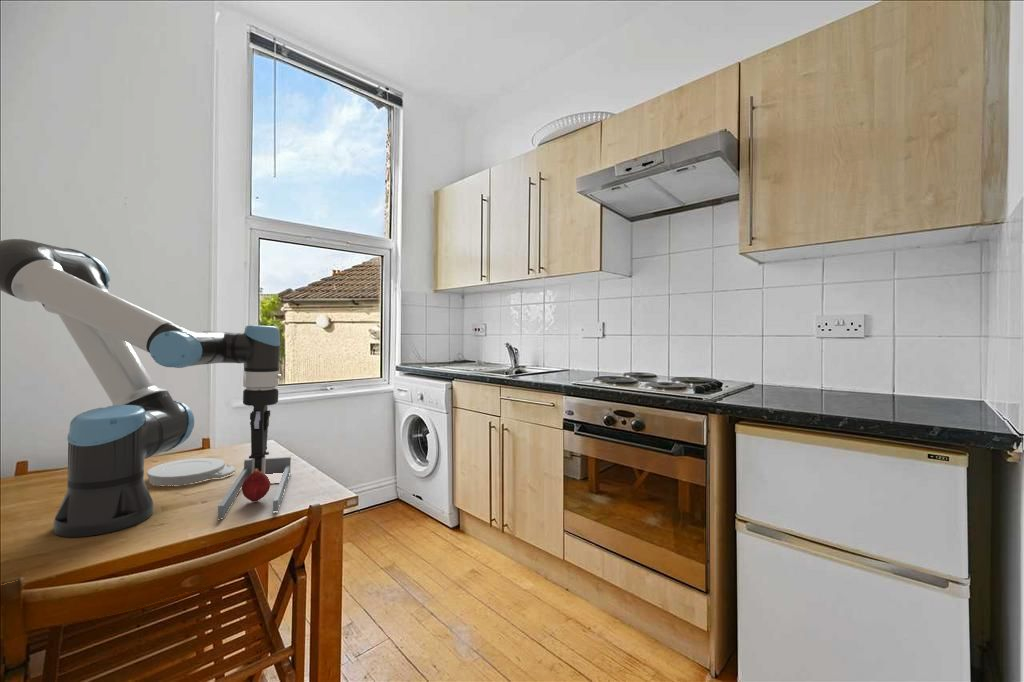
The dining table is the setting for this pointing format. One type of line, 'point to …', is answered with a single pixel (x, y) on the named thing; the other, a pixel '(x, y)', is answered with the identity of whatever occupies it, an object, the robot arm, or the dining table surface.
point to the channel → (270, 467)
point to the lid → (188, 471)
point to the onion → (255, 486)
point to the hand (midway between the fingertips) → (258, 482)
